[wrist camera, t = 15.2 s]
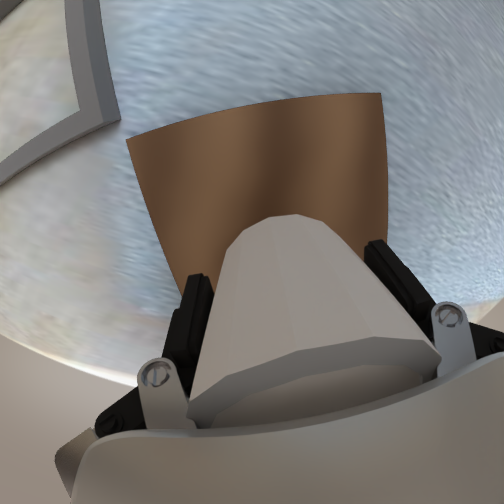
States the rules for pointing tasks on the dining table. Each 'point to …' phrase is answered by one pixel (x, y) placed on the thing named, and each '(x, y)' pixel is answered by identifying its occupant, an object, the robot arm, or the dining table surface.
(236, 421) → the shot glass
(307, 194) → the walnut mat
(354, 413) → the robot arm
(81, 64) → the housing
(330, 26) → the dining table surface
